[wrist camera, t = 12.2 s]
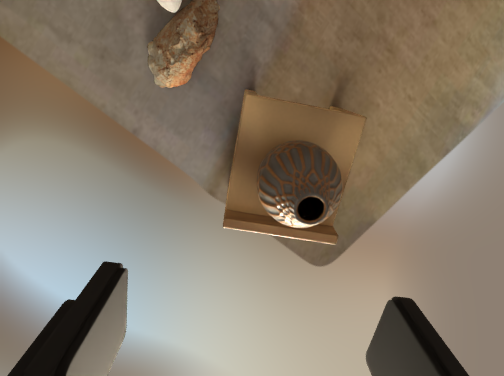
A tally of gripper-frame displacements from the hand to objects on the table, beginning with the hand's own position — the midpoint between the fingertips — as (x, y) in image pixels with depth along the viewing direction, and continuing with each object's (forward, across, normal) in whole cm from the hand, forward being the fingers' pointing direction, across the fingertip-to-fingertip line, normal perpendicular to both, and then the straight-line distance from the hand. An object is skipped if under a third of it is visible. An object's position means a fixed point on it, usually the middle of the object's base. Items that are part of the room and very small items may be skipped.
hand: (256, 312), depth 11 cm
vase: (+19, -4, 0) cm, 19 cm away
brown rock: (+27, +8, -9) cm, 29 cm away
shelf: (+27, -4, 0) cm, 27 cm away
